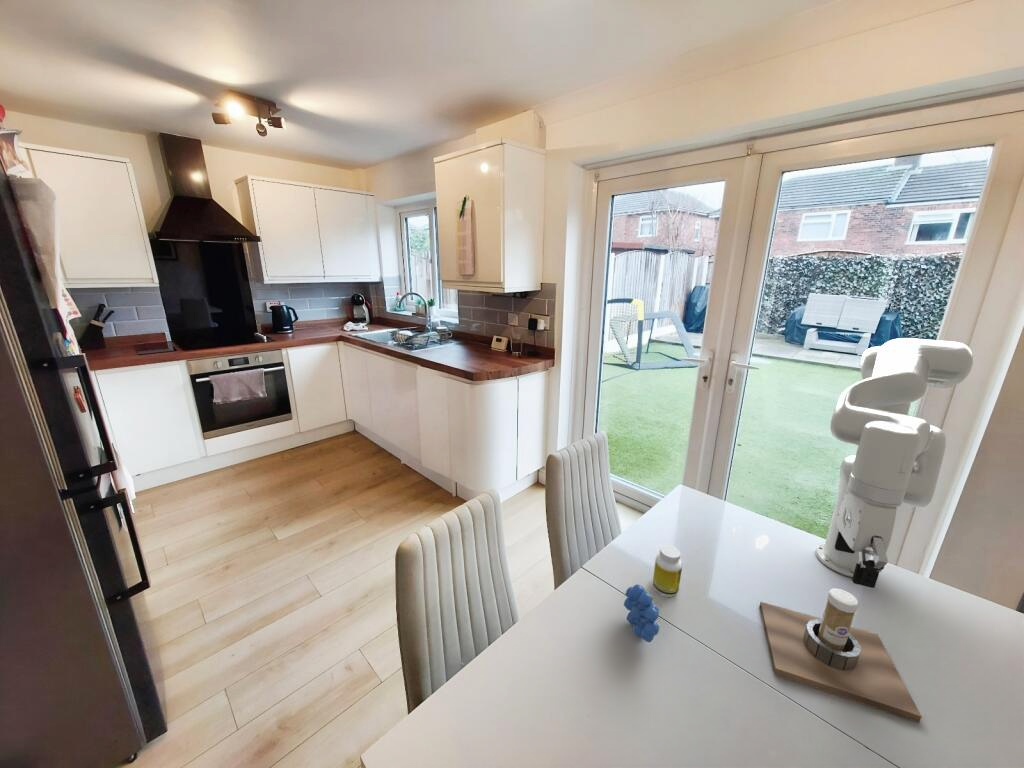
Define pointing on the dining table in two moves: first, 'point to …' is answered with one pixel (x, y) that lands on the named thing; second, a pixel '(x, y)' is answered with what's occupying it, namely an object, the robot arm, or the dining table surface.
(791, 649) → the socket board
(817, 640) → the collar
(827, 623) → the sprinkles bottle
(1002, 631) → the dining table surface
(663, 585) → the pill bottle
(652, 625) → the grapes
